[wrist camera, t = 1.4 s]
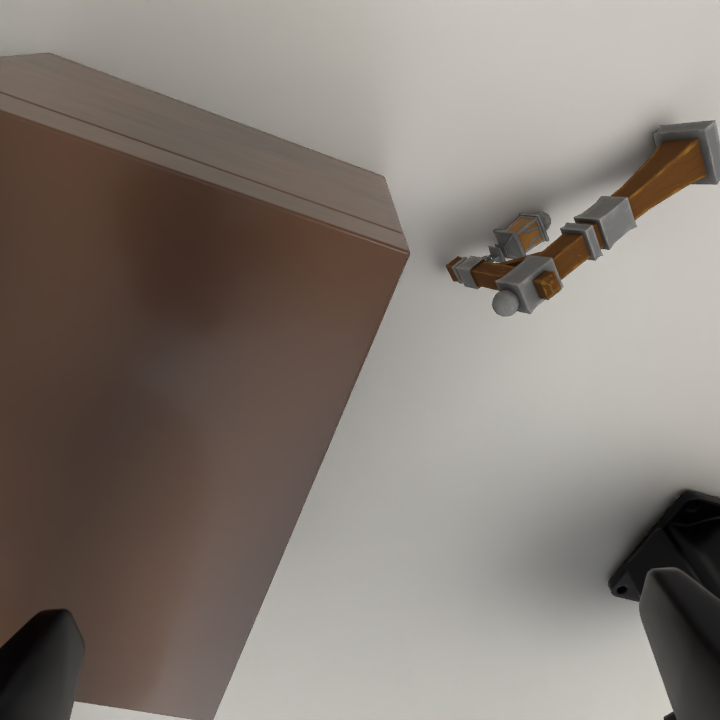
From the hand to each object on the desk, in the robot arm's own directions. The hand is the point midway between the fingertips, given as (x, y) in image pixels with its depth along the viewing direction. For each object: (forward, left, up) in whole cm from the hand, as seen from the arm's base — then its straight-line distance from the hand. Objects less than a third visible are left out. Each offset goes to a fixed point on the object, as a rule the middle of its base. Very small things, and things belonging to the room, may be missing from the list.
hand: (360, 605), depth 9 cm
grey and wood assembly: (-6, -5, -13) cm, 15 cm away
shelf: (+5, +5, -12) cm, 14 cm away
